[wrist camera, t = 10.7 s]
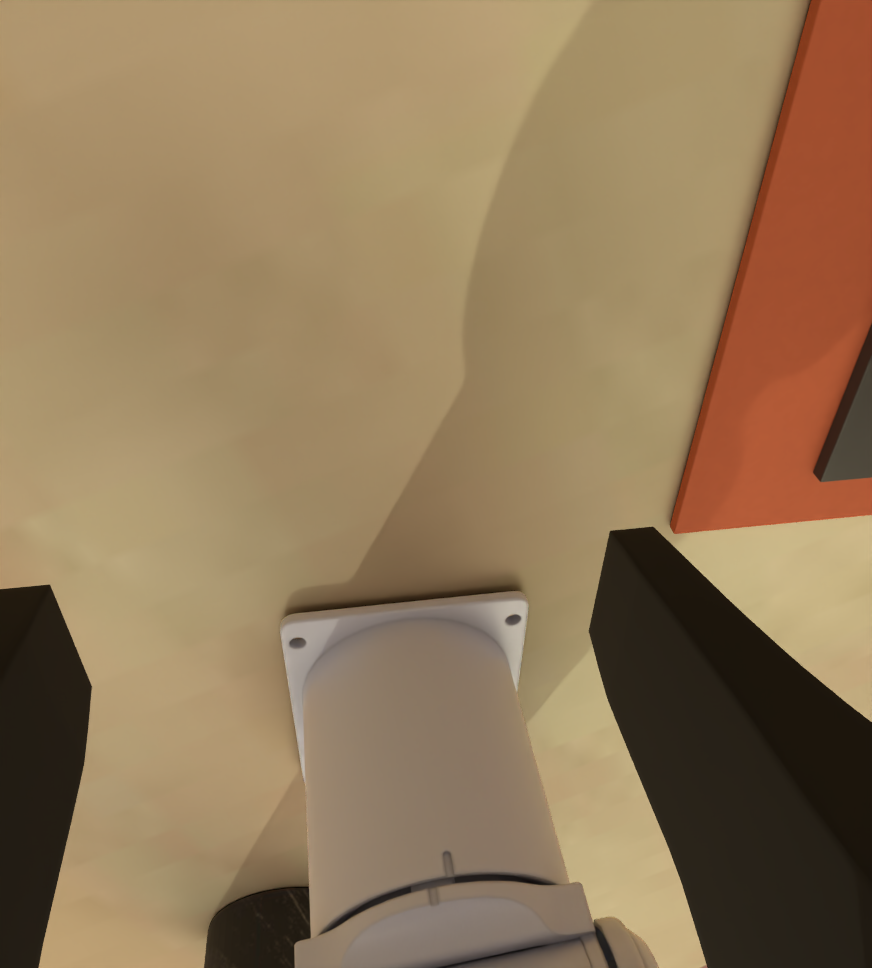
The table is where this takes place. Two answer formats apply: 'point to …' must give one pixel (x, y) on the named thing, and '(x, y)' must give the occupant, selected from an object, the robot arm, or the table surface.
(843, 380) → the mat
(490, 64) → the table surface
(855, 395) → the spatula
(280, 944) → the travel mug
